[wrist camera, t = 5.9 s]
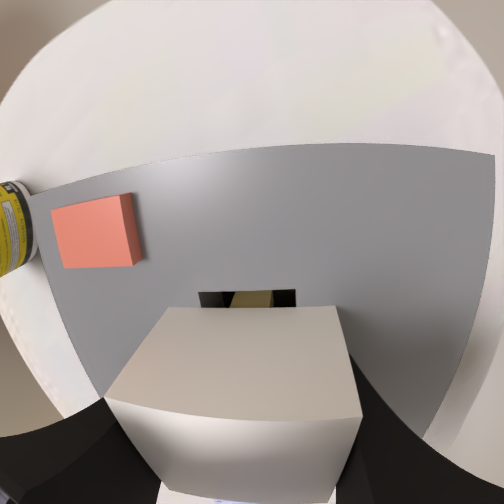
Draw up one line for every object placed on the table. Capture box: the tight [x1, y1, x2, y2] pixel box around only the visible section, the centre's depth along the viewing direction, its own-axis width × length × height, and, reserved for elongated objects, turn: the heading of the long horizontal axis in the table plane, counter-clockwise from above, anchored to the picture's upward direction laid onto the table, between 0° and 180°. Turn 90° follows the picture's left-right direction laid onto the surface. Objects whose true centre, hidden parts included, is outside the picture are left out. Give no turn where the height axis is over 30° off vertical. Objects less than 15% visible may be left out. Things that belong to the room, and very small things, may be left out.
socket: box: [29, 143, 495, 439], centre depth 10 cm, size 14×16×3 cm
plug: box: [103, 290, 363, 504], centre depth 8 cm, size 7×5×6 cm
